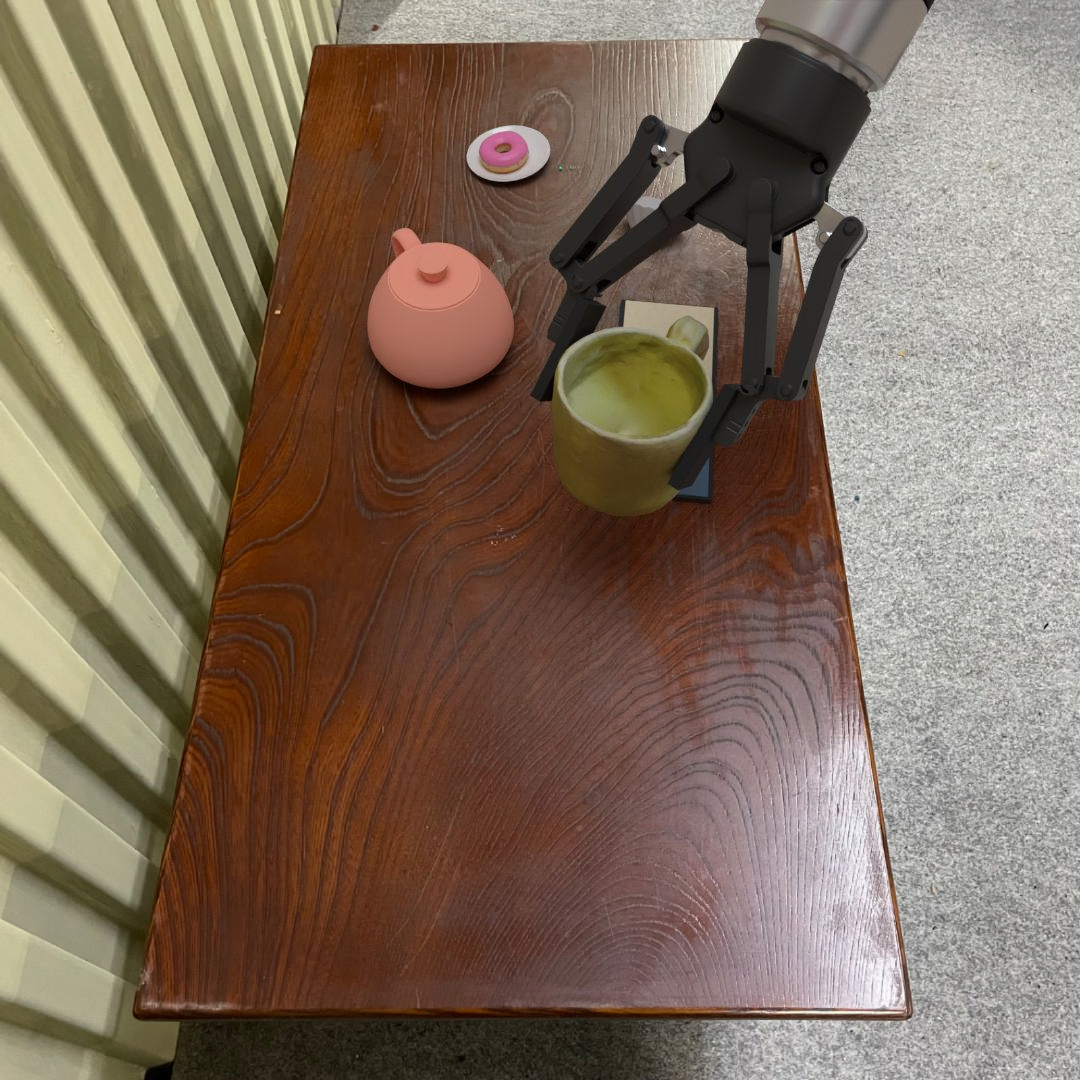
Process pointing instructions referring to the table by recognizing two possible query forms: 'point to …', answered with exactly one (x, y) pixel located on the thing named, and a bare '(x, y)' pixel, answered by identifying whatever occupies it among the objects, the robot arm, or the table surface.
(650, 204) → the gemstone
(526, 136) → the donut
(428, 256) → the sugar bowl
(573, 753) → the table surface
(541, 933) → the table surface
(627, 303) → the cream pad
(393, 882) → the table surface
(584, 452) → the mug
